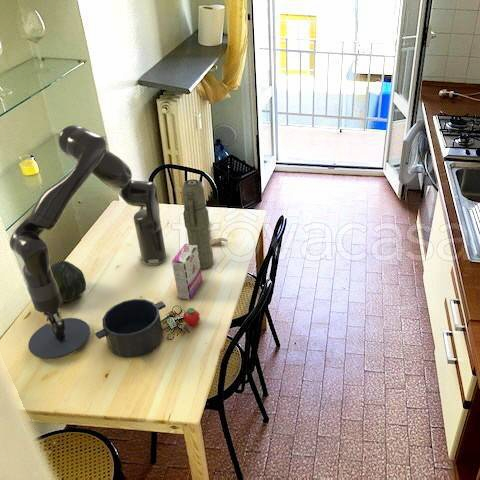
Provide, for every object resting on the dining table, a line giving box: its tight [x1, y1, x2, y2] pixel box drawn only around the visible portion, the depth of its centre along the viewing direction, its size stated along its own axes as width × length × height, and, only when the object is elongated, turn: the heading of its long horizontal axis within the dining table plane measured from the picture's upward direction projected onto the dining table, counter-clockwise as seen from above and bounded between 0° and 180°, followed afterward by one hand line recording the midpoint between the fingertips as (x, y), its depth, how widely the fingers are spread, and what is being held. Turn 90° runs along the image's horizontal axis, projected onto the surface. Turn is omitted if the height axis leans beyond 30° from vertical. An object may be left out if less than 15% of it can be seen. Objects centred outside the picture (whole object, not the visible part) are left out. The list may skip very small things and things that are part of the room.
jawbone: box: [208, 221, 229, 246], centre depth 214 cm, size 9×20×2 cm, turn 33°
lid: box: [27, 317, 91, 360], centre depth 158 cm, size 18×18×6 cm
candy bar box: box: [171, 243, 203, 301], centre depth 180 cm, size 11×5×16 cm, turn 168°
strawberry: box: [183, 307, 201, 328], centre depth 168 cm, size 5×5×6 cm
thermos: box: [181, 178, 214, 271], centre depth 188 cm, size 9×12×35 cm
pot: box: [94, 298, 167, 359], centre depth 160 cm, size 17×22×10 cm
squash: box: [50, 260, 87, 305], centre depth 176 cm, size 14×15×15 cm
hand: (59, 335), depth 159 cm, fingers closed on lid, 2 cm apart
